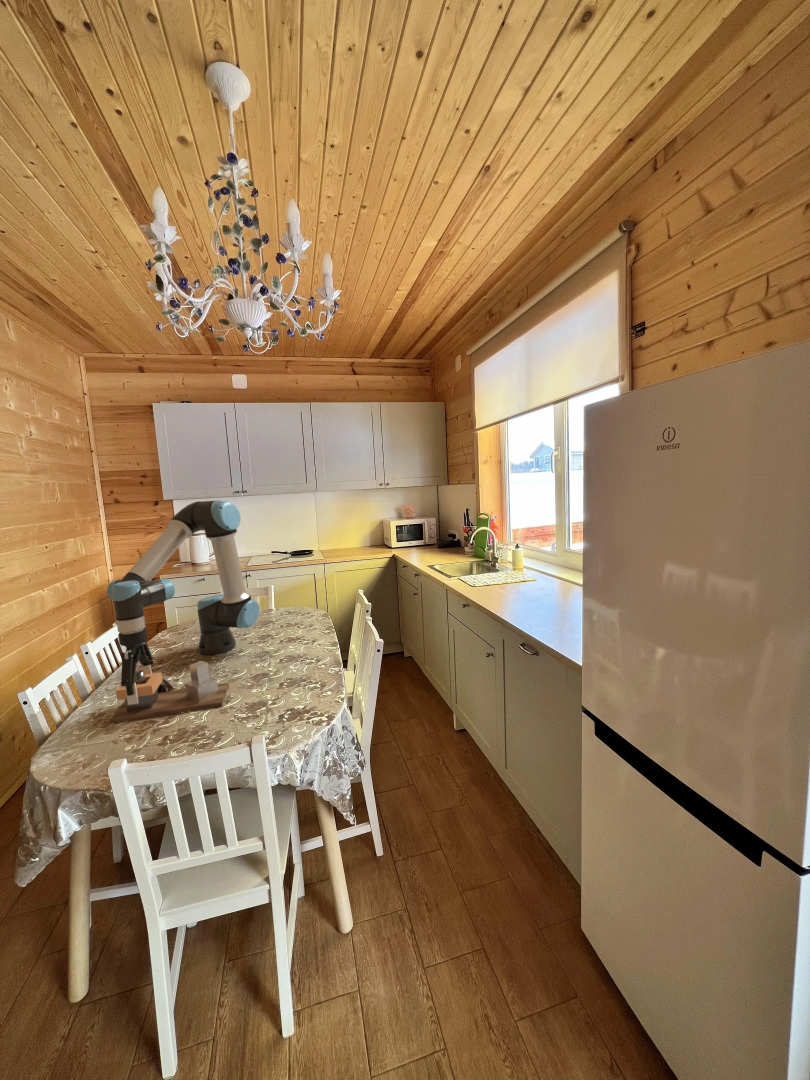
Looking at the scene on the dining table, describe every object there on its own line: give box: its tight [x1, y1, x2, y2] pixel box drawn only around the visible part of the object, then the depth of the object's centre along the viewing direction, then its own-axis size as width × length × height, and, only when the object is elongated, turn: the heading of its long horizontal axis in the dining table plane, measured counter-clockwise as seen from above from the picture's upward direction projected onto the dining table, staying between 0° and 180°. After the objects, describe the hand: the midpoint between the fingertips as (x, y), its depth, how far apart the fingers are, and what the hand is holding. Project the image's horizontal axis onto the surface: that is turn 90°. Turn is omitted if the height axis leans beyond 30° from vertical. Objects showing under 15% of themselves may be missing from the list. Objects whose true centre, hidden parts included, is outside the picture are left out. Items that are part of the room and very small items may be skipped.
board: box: [109, 682, 230, 725], centre depth 144 cm, size 14×32×2 cm, turn 103°
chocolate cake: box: [157, 674, 174, 693], centre depth 156 cm, size 10×7×12 cm
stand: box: [124, 669, 158, 712], centre depth 141 cm, size 7×7×11 cm
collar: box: [115, 671, 163, 701], centre depth 141 cm, size 10×10×3 cm
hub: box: [184, 660, 219, 703], centre depth 145 cm, size 7×7×11 cm
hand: (141, 693), depth 141 cm, fingers open, 13 cm apart
